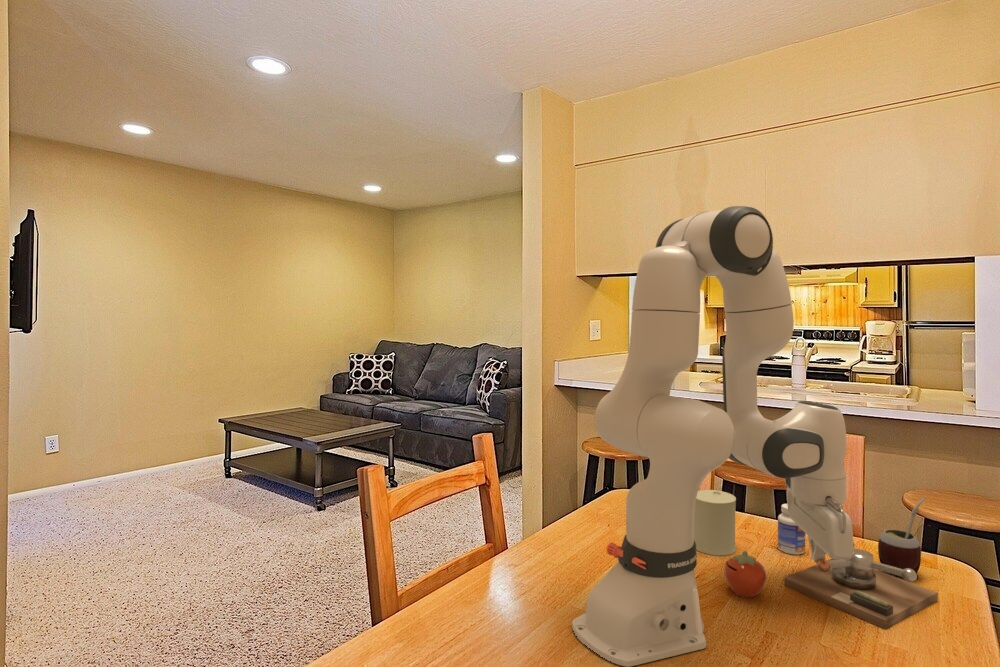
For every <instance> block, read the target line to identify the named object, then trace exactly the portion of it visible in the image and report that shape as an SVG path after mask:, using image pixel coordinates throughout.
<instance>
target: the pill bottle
mask: <svg viewBox="0 0 1000 667" xmlns="http://www.w3.org/2000/svg"><path fill="white" fill-rule="evenodd" d="M780 511H781V513H780V514H779V515H778V516H777V548H778V549H779V550H780V552H783V553H785V554H789V555H799V556H800V555H803V554H804V553H805V552H806V533H805V532H804V531H803V530H802V529H801V528H800V527H799V526H798V525H797V524H796V523H795V522H794V521H793V520H792V519H791V518H790V516H789V512H788V504H787V503H783V504H781V507H780Z"/></svg>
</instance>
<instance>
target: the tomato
mask: <svg viewBox="0 0 1000 667" xmlns="http://www.w3.org/2000/svg"><path fill="white" fill-rule="evenodd" d="M723 575H724V578H725V581H726V583H727V585H728V587H729V588H730V589H731V591H732V592H733V593H734V594H735V595H736V596H738V597H742V598H746V599H747V598H753V597H756V596H757V595H759V594H760V592H762V590H763V589H764V587H765V586H766V585H765V584H766V582H767V570H766V568H765V566H763V565H762V563H761V562H759V561H758V560H757V559H756V557H754V556H752V555H749V554H748V552H747V550H743V551H742V553H741V554H737V555H734V556H732V557H731V558H729V559H728V560H726V562H725V563H724V567H723Z"/></svg>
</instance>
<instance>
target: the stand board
mask: <svg viewBox="0 0 1000 667" xmlns="http://www.w3.org/2000/svg"><path fill="white" fill-rule="evenodd" d="M826 560H827V561H830V560H838V559H833V558H831V559H826ZM873 572H874V573H875V575H876V586H875V587H874V588H871V589H857V588H852V587H848V586H845V585H843V584H840V583H838V582H837V581H835V580H834V579H833V577H832V568H831V569H829V570H828V571H827V572H822V571H820V570H819V569H818V568H817V565H816V564H815V565H812V566H809V567H807V568H804V569H802V570H799V571H797V572H795V573H792V574H790V575H786V576H785V577H783V579H784V580H783V581H784V582H783V585H784V586H785V587H787V588H791V589H792V590H795V591H797V592H800V593H802V594H805V595H806V596H808V597H811V598H813V599H816V600H818V601H819V602H822V603H824V604H826V605H829V606H831V607H834V608H836V609H837V610H840V611H842V612H845V613H847V614H850V615H852V616H854V617H856V618H859V619H861V620H863V621H865V622H868V623H870V624H873V625H875V626H877V627H879V628H882V629H884V630H886V629H889V628H890V627H892V626H895V624H897V623H899V622H901V621H903V620H905V619H907V618H908V617H910V616H912V615H914V614H916V613H918V612H920V611H921V610H923V609H925V608H927V607H929V606H930V605H932V604H934V603H936V602H937V600H939V599H938V598H939V592H938V591H935V590H933V589H930V588H927V587H924V586H922V585H919V584H916V583H913V582H909V581H906V580H905V579H902V578H901V579H900V578H897V577H896V576H895V575H892V574H891V575H890V573H887V572H883V571H880V570H876V569H873Z"/></svg>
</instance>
